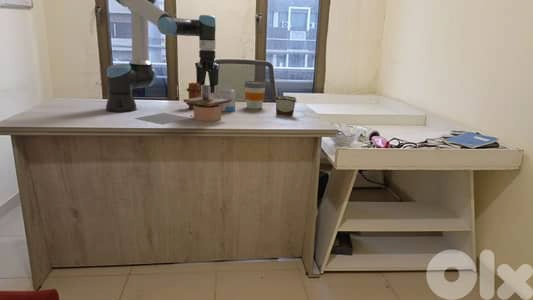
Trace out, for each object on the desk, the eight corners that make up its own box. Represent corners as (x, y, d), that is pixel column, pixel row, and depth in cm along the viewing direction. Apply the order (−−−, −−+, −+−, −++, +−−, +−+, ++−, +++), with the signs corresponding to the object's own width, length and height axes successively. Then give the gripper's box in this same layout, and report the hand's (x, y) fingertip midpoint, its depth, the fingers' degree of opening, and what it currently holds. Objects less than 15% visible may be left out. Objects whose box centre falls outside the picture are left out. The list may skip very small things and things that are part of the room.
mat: (134, 119, 183) (133, 118, 183) (163, 113, 199) (163, 112, 198) (162, 125, 174) (162, 124, 174) (191, 119, 189) (191, 118, 189)
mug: (198, 110, 211) (198, 83, 207) (184, 109, 212) (184, 82, 208) (207, 106, 225) (207, 80, 220) (194, 105, 226) (194, 79, 222)
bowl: (188, 119, 189) (188, 105, 187) (205, 115, 200) (205, 102, 198) (208, 123, 183) (208, 108, 181) (225, 119, 193) (225, 105, 191)
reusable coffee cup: (268, 107, 230) (270, 82, 225) (257, 110, 219) (258, 84, 215) (251, 105, 236) (252, 80, 232) (239, 107, 226) (240, 81, 222)
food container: (298, 115, 211) (300, 97, 208) (294, 117, 205) (296, 98, 203) (278, 112, 216) (279, 95, 213) (273, 114, 210) (274, 96, 207)
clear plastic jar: (235, 110, 216) (236, 84, 212) (231, 112, 211) (232, 85, 207) (222, 109, 219) (222, 83, 215) (217, 110, 214) (218, 83, 210)
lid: (183, 102, 186) (183, 85, 184) (205, 98, 199) (205, 82, 197) (209, 106, 178) (209, 88, 176) (230, 102, 191) (230, 85, 189)
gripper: (188, 48, 183) (188, 97, 189) (216, 50, 174) (215, 102, 181) (198, 48, 189) (199, 96, 196) (226, 50, 181) (225, 100, 187)
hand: (207, 98), depth 188 cm, fingers closed on lid, 4 cm apart
